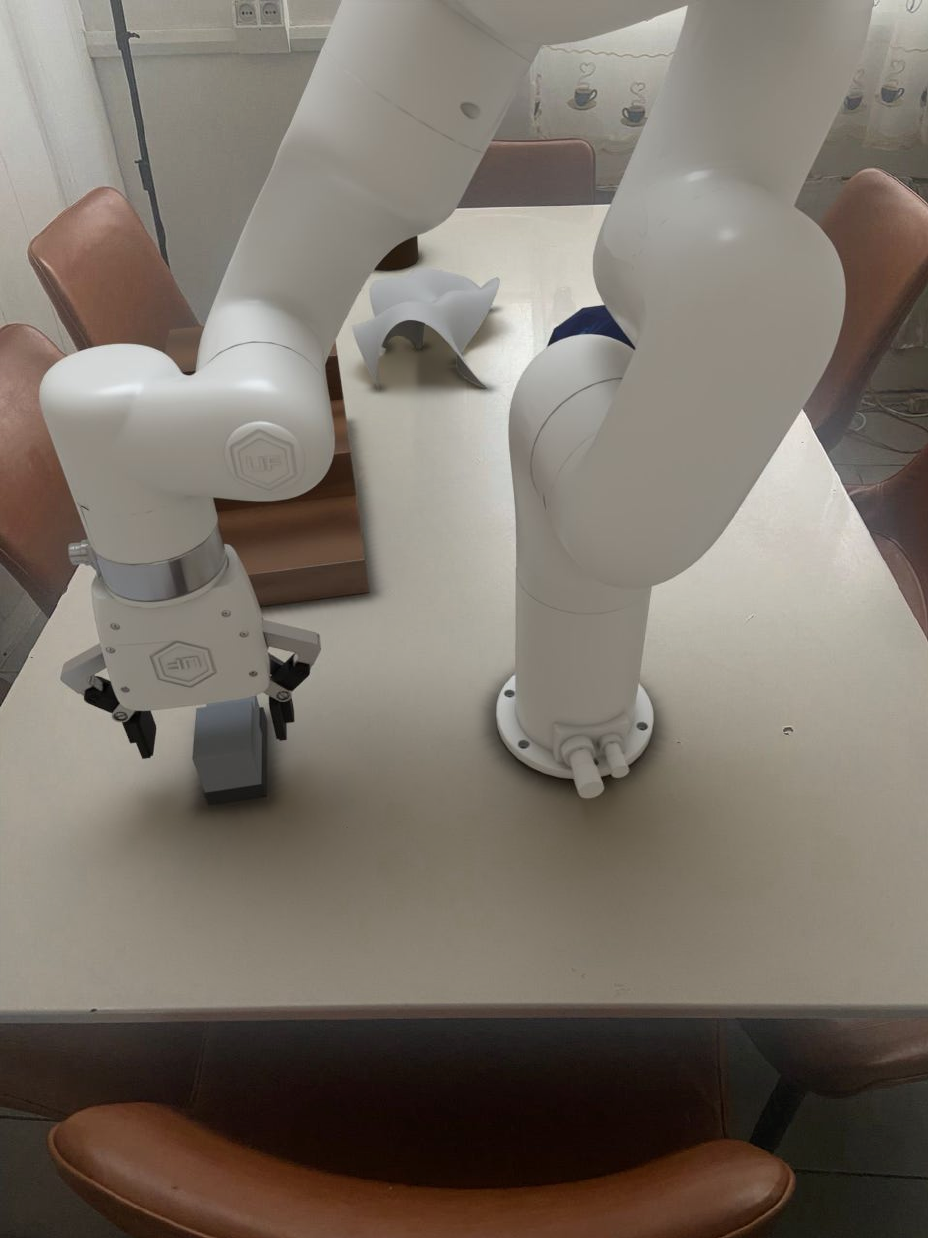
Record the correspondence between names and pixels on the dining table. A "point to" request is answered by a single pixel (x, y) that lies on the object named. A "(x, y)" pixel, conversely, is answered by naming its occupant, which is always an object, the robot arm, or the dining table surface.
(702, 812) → the dining table surface
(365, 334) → the sculpture
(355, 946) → the dining table surface
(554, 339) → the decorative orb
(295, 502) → the wooden step block
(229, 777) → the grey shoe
